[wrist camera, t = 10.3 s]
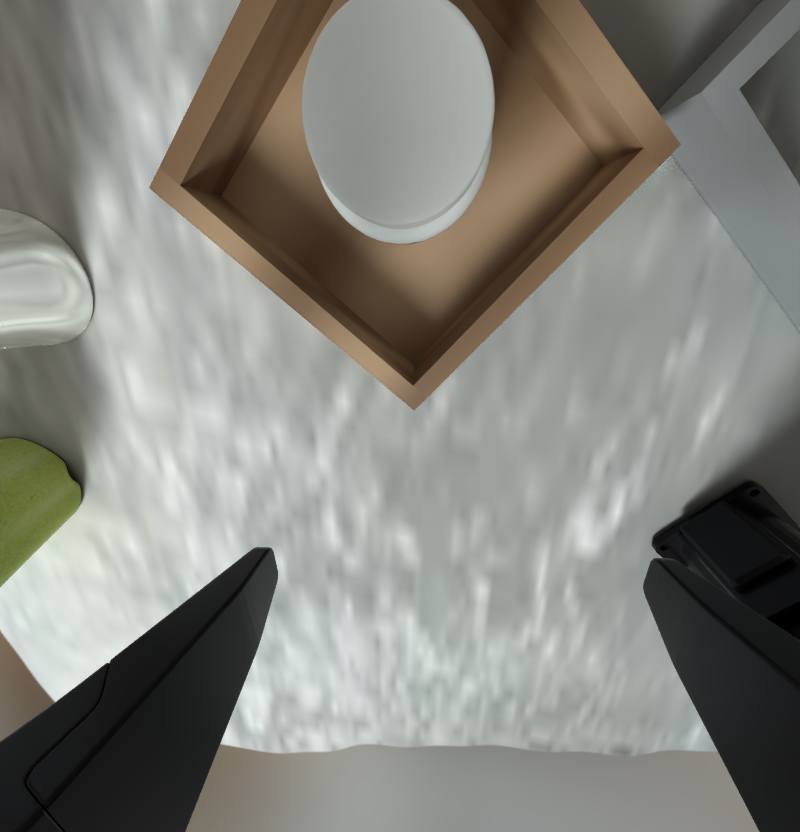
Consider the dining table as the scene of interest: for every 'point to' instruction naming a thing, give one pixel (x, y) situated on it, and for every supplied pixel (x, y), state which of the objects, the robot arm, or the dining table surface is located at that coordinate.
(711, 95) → the bin
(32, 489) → the plant pot
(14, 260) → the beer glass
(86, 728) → the robot arm
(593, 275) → the dining table surface
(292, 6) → the walnut bin
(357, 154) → the pill bottle
